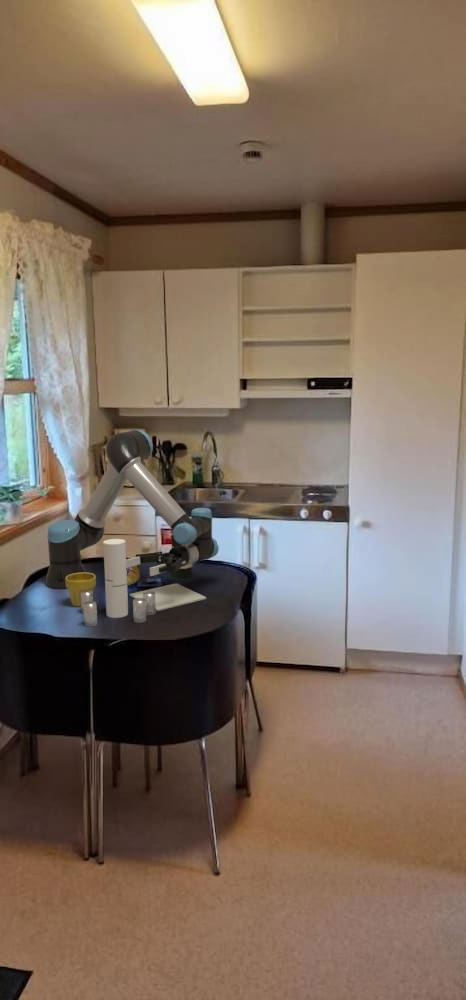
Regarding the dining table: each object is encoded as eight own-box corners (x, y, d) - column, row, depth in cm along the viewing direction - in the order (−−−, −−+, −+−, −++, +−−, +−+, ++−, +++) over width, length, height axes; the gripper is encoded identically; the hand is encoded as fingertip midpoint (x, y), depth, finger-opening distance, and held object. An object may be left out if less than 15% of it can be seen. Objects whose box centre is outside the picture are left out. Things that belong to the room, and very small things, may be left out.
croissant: (136, 596, 254) (145, 577, 253) (111, 585, 251) (121, 567, 250) (132, 578, 274) (141, 560, 273) (109, 568, 271) (118, 551, 270)
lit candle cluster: (68, 613, 226) (67, 594, 224) (132, 599, 240) (131, 580, 238) (97, 634, 208) (96, 612, 207) (164, 616, 222) (163, 596, 221)
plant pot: (102, 603, 236) (101, 576, 234) (76, 610, 229) (74, 583, 227) (87, 596, 243) (85, 570, 241) (61, 603, 236) (59, 576, 234)
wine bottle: (178, 571, 272) (177, 498, 266) (196, 574, 268) (196, 500, 262) (168, 577, 264) (166, 502, 259) (186, 580, 261) (185, 504, 255)
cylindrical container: (113, 609, 230) (110, 538, 225) (131, 611, 228) (129, 539, 223) (102, 616, 223) (99, 543, 218) (121, 618, 221) (118, 545, 216)
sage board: (129, 595, 244) (129, 594, 243) (176, 584, 255) (176, 583, 255) (157, 611, 228) (157, 609, 228) (206, 598, 240) (206, 597, 239)
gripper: (207, 572, 237) (161, 586, 221) (160, 558, 253) (115, 571, 238) (207, 551, 235) (161, 564, 220) (160, 539, 252) (114, 550, 237)
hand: (137, 568), depth 229 cm, fingers open, 13 cm apart
